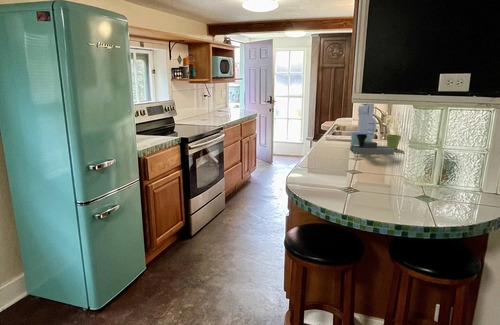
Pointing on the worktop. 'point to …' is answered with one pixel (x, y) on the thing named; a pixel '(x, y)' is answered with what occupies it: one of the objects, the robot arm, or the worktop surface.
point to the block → (369, 145)
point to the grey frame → (372, 149)
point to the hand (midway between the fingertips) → (360, 146)
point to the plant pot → (393, 140)
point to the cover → (355, 140)
